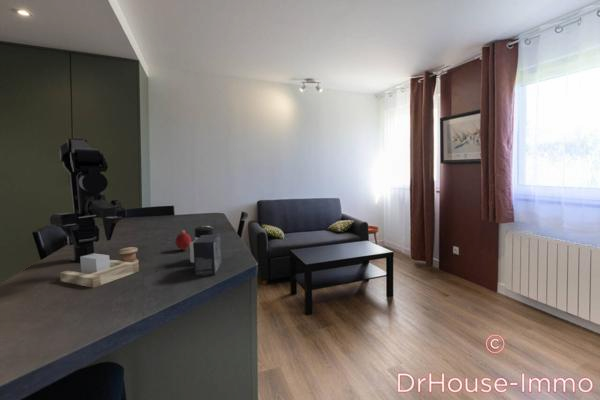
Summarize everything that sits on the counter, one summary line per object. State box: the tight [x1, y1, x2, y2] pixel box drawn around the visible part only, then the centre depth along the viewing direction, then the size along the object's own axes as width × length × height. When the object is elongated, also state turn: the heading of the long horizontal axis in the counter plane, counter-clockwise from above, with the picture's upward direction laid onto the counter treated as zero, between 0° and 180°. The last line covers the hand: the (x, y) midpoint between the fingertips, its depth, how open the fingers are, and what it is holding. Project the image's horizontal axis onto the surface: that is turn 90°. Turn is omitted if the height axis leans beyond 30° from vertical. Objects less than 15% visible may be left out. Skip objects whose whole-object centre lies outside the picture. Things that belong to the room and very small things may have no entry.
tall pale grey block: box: [80, 252, 110, 274], centre depth 88 cm, size 7×4×6 cm, turn 69°
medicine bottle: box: [189, 225, 214, 264], centre depth 102 cm, size 7×7×12 cm
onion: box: [175, 230, 192, 251], centre depth 116 cm, size 6×6×8 cm
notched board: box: [59, 258, 140, 288], centre depth 88 cm, size 14×14×2 cm
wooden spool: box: [118, 246, 139, 264], centre depth 99 cm, size 6×6×5 cm
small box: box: [192, 233, 223, 277], centre depth 92 cm, size 11×6×10 cm, turn 5°
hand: (93, 243), depth 88 cm, fingers open, 9 cm apart
